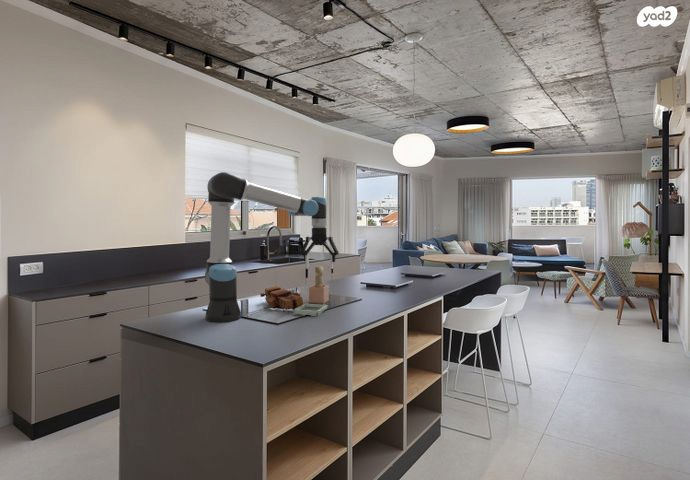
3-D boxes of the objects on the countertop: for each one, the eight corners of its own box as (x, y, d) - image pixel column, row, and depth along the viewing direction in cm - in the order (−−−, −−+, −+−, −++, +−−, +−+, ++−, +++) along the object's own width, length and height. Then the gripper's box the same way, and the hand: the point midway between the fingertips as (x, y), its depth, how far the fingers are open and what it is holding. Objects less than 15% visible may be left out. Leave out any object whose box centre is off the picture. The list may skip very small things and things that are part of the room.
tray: (293, 314, 196) (293, 309, 196) (304, 308, 209) (304, 303, 209) (317, 316, 193) (317, 311, 193) (327, 309, 206) (327, 305, 206)
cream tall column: (314, 301, 220) (314, 267, 219) (316, 300, 224) (316, 266, 222) (321, 302, 219) (321, 267, 217) (323, 300, 222) (323, 266, 221)
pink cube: (309, 304, 218) (309, 286, 218) (314, 301, 226) (314, 284, 226) (323, 305, 216) (323, 287, 216) (328, 302, 224) (328, 285, 223)
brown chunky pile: (311, 307, 206) (283, 296, 231) (308, 290, 205) (281, 281, 230) (279, 316, 197) (254, 304, 222) (277, 298, 196) (252, 288, 221)
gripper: (293, 227, 219) (294, 268, 220) (340, 227, 212) (340, 269, 213) (299, 226, 226) (299, 266, 227) (344, 226, 219) (344, 267, 220)
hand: (319, 268), depth 220 cm, fingers open, 13 cm apart
